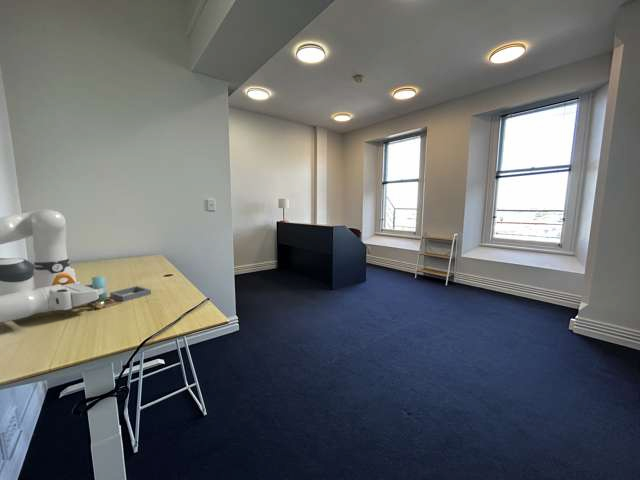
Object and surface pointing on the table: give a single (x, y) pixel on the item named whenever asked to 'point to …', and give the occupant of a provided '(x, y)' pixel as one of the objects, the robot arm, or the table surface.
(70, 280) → the bracket
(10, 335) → the table surface
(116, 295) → the tray
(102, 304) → the bench dog
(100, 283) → the dowel
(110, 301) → the jig plate
